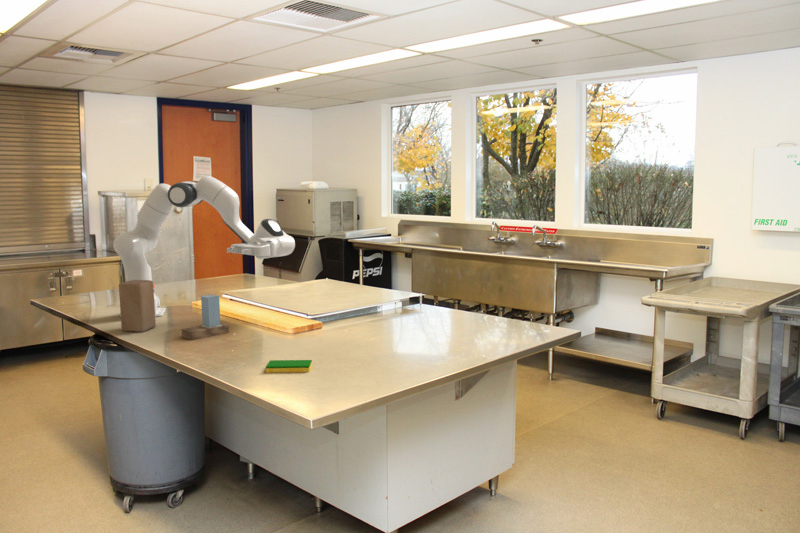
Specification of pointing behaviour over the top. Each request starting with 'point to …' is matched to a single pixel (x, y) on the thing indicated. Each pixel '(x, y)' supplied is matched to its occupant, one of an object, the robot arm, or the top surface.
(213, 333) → the plinth
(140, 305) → the block
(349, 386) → the top surface
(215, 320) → the post
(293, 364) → the dish sponge
